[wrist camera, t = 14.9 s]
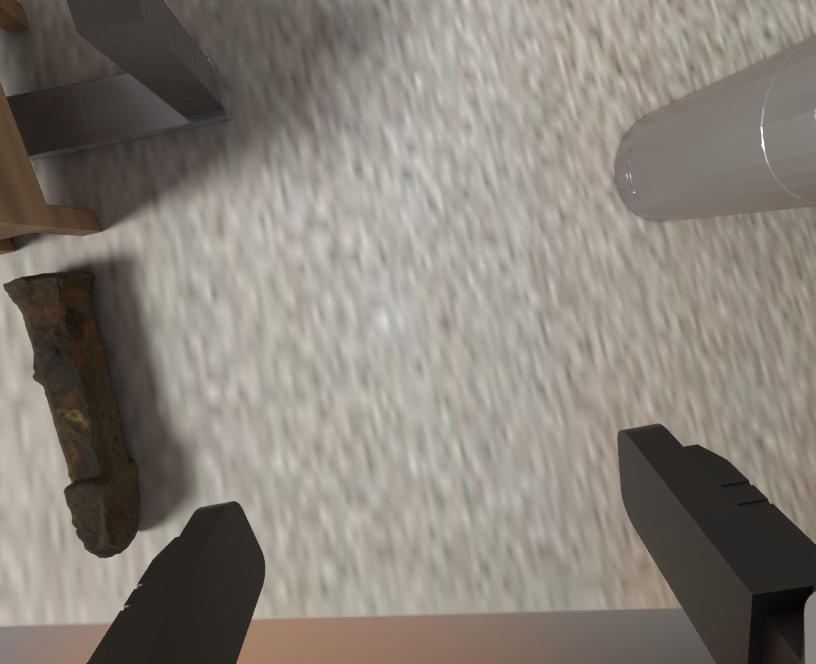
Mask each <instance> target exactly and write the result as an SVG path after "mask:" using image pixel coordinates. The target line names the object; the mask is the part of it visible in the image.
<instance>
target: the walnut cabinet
mask: <svg viewBox="0 0 816 664" xmlns="http://www.w3.org/2000/svg"><path fill="white" fill-rule="evenodd" d="M0 27H1V28H2V29H4V30H5V31H12V30H18V29H23V28H28V27H29V26H28V24H27V21H26V18H25V15H24V12H23V10H22V7H21V4H20V3H18V2H17V1H16V0H0ZM98 232H102V229H101V227H100V224H99V221H98V218H97V215H96V213H95V212H93V211H86V210H80V209H74V208H68V207H61V206H55V205H49V204H46V201H45V199H44V196H43V193H42V191H41V188H40V186H39V183H38V180H37V178H36V175H35V172H34V170H33V167H32V164H31V162H30V159H29V157H28V154H27V151H26V149H25V146H24V143H23V141H22V138H21V135H20V133H19V130H18V128H17V125H16V122H15V120H14V117H13V114H12V112H11V109H10V106H9V104H8V101H7V99H6V96H5V93H4V91H3V88H2V85H1V83H0V254H5V253H9V252H14V251H15V248H14V246H13V243H12V241H11V238H10V237H15V236H19V235H24V234H28V233H45V234H60V235H75V236H85V235H89V234H93V233H98Z"/></svg>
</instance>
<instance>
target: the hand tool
mask: <svg viewBox="0 0 816 664" xmlns="http://www.w3.org/2000/svg"><path fill="white" fill-rule="evenodd" d="M94 279H95V275H93V274H91V273H76V272H75V273H74V272H72V273H66V272H59V273H44V274H39V275H33V276H27V277H21V278H18V279H15V280H13V281H11V282H9V283H6V284H4V285H3V286H4V289H5V291H6V292H7V293H8V294H9V296H10V298H11V299H12V301H13V302H14V303H15V304H16V305H17V306H18V308H19V309H20V311H21V312H22V314H23V318H24V321H25V326H26V329H27V332H28V335H29V338H30V341H31V344H32V348H33V351H34V365H33V369H34V370H35V373H34V375H33V378H34V380H35V381H37V382H38V383H40V384H41V385H43V387H44V389H45V395H46V397H47V400H48V404H49V407H50V410H51V413H52V416H53V421H54V425H55V428H56V431H57V434H58V438H59V441H60V444H61V447H62V450H63V453H64V456H65V459H66V462H67V466H68V471H69V475H68V476H69V477H70V479H71V482H72V483H71V484H70V485H68V486H67V487H66V488H65V490H64V494H65V498H66V502H67V506H68V507H69V509H70V510H71V513H72V516H73V517H72V524H73V525H74V526H75V527H76V528H77V530H76V534H77V536H78V538H79V539H81V540H82V542H83V543H84V547H85V549H86V550H87V551H89V552H90V553H92V554H95V555H96V556H98V557H99V558H108V557H112V556H114V555H115V554H120V553H121V552H122V551H124V550H125V549H127V547H128V546H129V545H130V543H131V542H132V540H133V539H134V538H135V536H136V533H137V530H138V524H139V507H140V494H139V492H138V470H137V465H136V462H135V461H134V460H132V459H129V458H128V455H127V451H126V448H125V445H124V440H123V434H122V429H121V425H120V420H119V416H118V406H117V402H116V399H115V397H114V394H113V391H112V386H111V382H110V378H109V373H108V367H107V361H106V357H105V353H104V344H103V342H102V340H101V338H100V335H99V331H98V328H97V323H96V320H95V316H94V313H93V309H92V306H91V301H90V295H89V290H90V284H91V283H92V282H93V280H94Z"/></svg>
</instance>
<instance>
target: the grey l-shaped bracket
mask: <svg viewBox="0 0 816 664" xmlns="http://www.w3.org/2000/svg"><path fill="white" fill-rule="evenodd" d="M67 3H68V6H69V9H70V12H71V15H72V18H73V21H74V24H75V27H76V30H77V33H78V34H80V35H81V36H82V37H83V38H85V39H86V40H87V41H89V42H90V43H91V44H92V45H94V46H95V47H96V48H97V49H99V50H100V51H101V52H102V53H104V54H105V55H106V56H107V57H109V58H110V59H111V60H113V61H114V62H115V63H116V64H118V65H119V66H120V67H121V68H123V69H124V70H125V71H126V72H128V73H129V74H123V75H118V76H113V77H108V78H103V79H98V80H92V81H87V82H82V83H77V84H72V85H67V86H62V87H56V88H51V89H46V90H41V91H36V92H31V93H25V94H20V95H15V96H10V97H6V99H7V101H8V104H9V106H10V109H11V112H12V114H13V117H14V120H15V122H16V125H17V128H18V130H19V133H20V135H21V138H22V141H23V143H24V146H25V149H26V151H27V154H28V157H29V159H30V161H33V160H38V159H43V158H48V157H53V156H57V155H62V154H67V153H72V152H77V151H82V150H87V149H92V148H97V147H101V146H106V145H111V144H116V143H121V142H126V141H131V140H136V139H141V138H145V137H150V136H155V135H160V134H165V133H170V132H175V131H180V130H185V129H189V128H194V127H199V126H204V125H209V124H214V123H219V122H224V121H229V120H231V119H230V116H229V112H228V109H227V105H226V102H225V98H224V95H223V91H222V88H221V84H220V80H219V77H218V73H217V70H216V66H215V64H214V62H213V61H212V60H211V58H206V56H205V55H204V54H203V52H202V51H201V50H200V48H199V47H198V46H197V45H196V43H195V42H194V41H193V39H192V38H191V37H190V35H189V34H188V33H187V32H186V30H185V29H184V28H183V26H182V25H181V24H180V22H179V21H178V20H177V18H176V17H175V16H174V15H173V13H172V12H171V11H170V9H169V8H168V7H167V5H166V4H165V3H164V1H163V0H67Z"/></svg>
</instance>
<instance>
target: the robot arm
mask: <svg viewBox="0 0 816 664" xmlns="http://www.w3.org/2000/svg"><path fill="white" fill-rule="evenodd" d="M615 180H616V184H617V189H618V191H619V193H620V196H621V198H622V200H623V201H624V202H625V204H626V205H627V206H628V208H629V209H630V210H632V211H633V212H634V213H635V214H636V215H638V216H640V217H642V218H644V219H646V220H651V221H655V222H665V221H676V220H686V219H696V218H707V217H716V216H726V215H735V214H745V213H754V212H764V211H773V210H783V209H792V208H802V207H811V206H816V35H814V36H812V37H810V38H808V39H805V40H803V41H801V42H799V43H797V44H795V45H793V46H791V47H789V48H787V49H785V50H782V51H780V52H778V53H776V54H774V55H772V56H770V57H768V58H766V59H764V60H761V61H759V62H757V63H755V64H753V65H751V66H749V67H747V68H745V69H743V70H740V71H738V72H736V73H734V74H732V75H730V76H728V77H726V78H724V79H722V80H720V81H717V82H715V83H713V84H711V85H709V86H707V87H705V88H703V89H701V90H699V91H696V92H694V93H692V94H690V95H688V96H686V97H684V98H681V99H679V100H677V101H675V102H673V103H671V104H669V105H667V106H665V107H663V108H661V109H659V110H657V111H655V112H653V113H650V114H648V115H646V116H644V117H643V118H642V119H640V120H639V121H638V122H636V123H635V124H634V125H633V126H632V127H631V128H630V130H629V131H628V132H627V133H626V135H625V137H624V138H623V140H622V142H621V144H620V146H619V149H618V152H617V155H616V162H615ZM618 454H619V468H620V482H621V493H622V498H623V502H624V506H625V509H626V511H627V514H628V516H629V519H630V521H631V523H632V525H633V526H634V528H635V530H636V531H637V533H638V535H639V536H640V538H641V540H642V541H643V543H644V545H645V546H646V548H647V549H648V551H649V553H650V554H651V556H652V558H653V559H654V561H655V563H656V564H657V566H658V568H659V569H660V571H661V573H662V574H663V576H664V578H665V579H666V581H667V583H668V584H669V586H670V588H671V589H672V591H673V593H674V594H675V596H676V598H677V599H678V601H679V603H680V604H681V606H682V607H683V609H684V611H685V612H686V614H687V616H688V617H689V619H690V621H691V622H692V624H693V626H694V627H695V629H696V631H697V632H698V634H699V636H700V637H701V639H702V641H703V642H704V644H705V646H706V647H707V649H708V651H709V652H710V654H711V656H712V657H713V659H714V660H715V662H716V664H816V545H815V544H814V543H813V542H812V541H811V540H810V539H809V538H808V537H807V536H806V535H805V534H804V533H803V532H802V531H801V530H800V529H799V528H798V527H797V526H796V525H795V524H794V523H793V522H791V521H790V520H789V519H788V518H787V517H786V516H785V515H784V514H783V513H782V512H781V511H780V510H779V509H778V508H777V507H776V506H775V505H774V504H770V503H769V501H768V499H767V498H766V497H765V496H764V495H763V494H762V493H761V492H760V491H759V490H758V489H757V488H756V487H755V486H754V485H750V483H749V480H748V479H747V478H746V477H745V476H743V475H742V474H741V473H740V472H739V471H738V470H737V469H736V468H735V467H734V466H733V465H732V464H731V463H730V462H729V461H728V460H727V459H725V458H723V457H721V456H719V455H717V454H715V453H713V452H711V451H709V450H707V449H705V448H703V447H702V446H700V445H698V444H697V445H691V446H686V447H683V446H682V445H681V444H680V443H679V442H678V440H677V439H676V438H675V437H674V436H673V435H672V434H671V433H670V432H669V431H668V430H667V429H666V428H665V427H664V426H663V425H661V424H653V425H647V426H642V427H637V428H631V429H626V430H620V431H619V433H618ZM264 578H265V560H264V556H263V552H262V550H261V548H260V546H259V544H258V541H257V539H256V537H255V535H254V533H253V531H252V528H251V526H250V524H249V522H248V520H247V518H246V515H245V513H244V511H243V509H242V507H241V506H240V504H239V503H237V502H235V501H232V502H227V503H221V504H216V505H210V506H205V507H200V508H198V509H197V510H196V511H195V512H194V513H193V515H192V517H191V518H190V520H189V522H188V523H187V525H186V526H185V528H184V530H183V531H182V533H181V535H180V536H179V537H175V538H174V539H173V540H172V541H171V542H170V543H169V544H168V545H167V546H166V547H165V548H164V549H163V550H162V551H161V552H160V553H159V554H158V555H157V556H156V557H155V558H154V559H153V560H152V562H151V564H150V565H149V567H148V568H147V570H146V571H145V573H144V575H143V576H142V578H141V579H140V581H139V582H138V584H137V585H138V587H137V589H134V590H133V592H132V593H131V595H130V597H129V598H128V600H127V601H126V603H125V604H124V610H123V611H120V612H119V614H118V615H117V617H116V619H115V620H114V622H113V623H112V625H111V626H110V628H109V630H108V631H107V633H106V634H105V636H104V637H103V639H102V641H101V642H100V644H99V645H98V647H97V648H96V650H95V652H94V653H93V655H92V656H91V658H90V659H89V661H88V663H87V664H236V662H237V660H238V657H239V654H240V651H241V648H242V645H243V642H244V639H245V636H246V633H247V630H248V627H249V624H250V622H251V619H252V616H253V613H254V610H255V607H256V604H257V601H258V598H259V595H260V593H261V590H262V587H263V583H264Z"/></svg>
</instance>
